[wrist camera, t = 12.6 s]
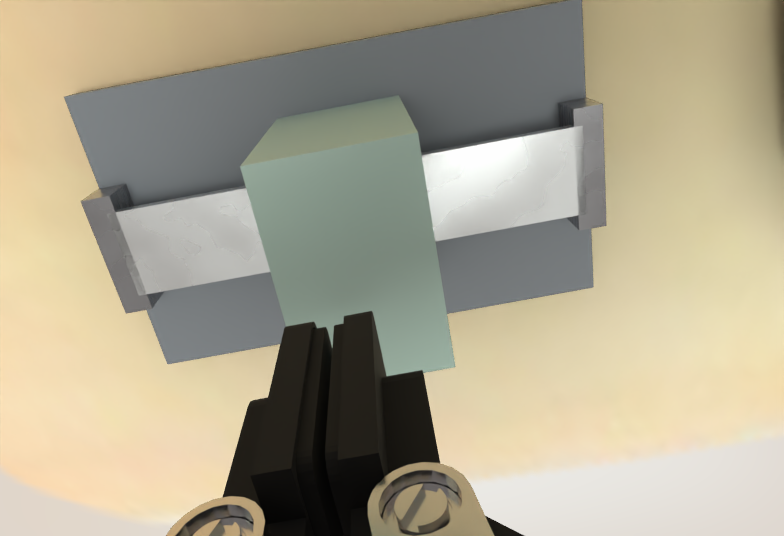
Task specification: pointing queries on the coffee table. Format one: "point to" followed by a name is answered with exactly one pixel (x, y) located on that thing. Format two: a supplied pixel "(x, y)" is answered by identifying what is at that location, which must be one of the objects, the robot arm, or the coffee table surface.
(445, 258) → the mounting board
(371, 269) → the rail module
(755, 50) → the coffee table surface
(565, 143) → the din rail
